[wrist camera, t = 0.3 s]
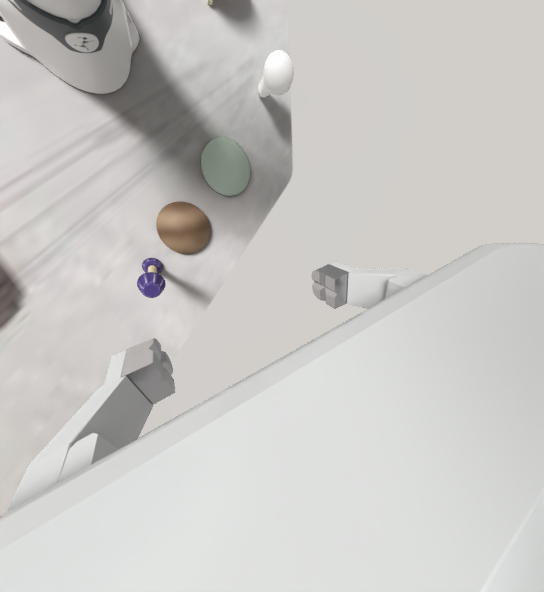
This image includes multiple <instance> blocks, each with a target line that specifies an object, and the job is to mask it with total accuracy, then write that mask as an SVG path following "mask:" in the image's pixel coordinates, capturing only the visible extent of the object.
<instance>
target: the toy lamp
mask: <svg viewBox="0 0 544 592" xmlns="http://www.w3.org/2000/svg"><path fill="white" fill-rule="evenodd" d="M142 268H143V270H144V271H145V272H146V273H144V274H142V275H141V276H140V277H139V279H138V281H137V286H138V288H139V290H140V291H141V292H142V294H143V295H145V296H146V297H149V298H154V297H157V296H159V295H160V294H161V292H162V291H163V290H164V288H165V280H164V278H163V277H162V276H161V275H159V273H160V272H161V271H162V263H161V262H160V261H159V260H157V259H155V258H149V259H146V260H145V261H144V262H143V264H142Z"/></svg>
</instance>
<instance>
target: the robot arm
mask: <svg viewBox="0 0 544 592" xmlns="http://www.w3.org/2000/svg"><path fill="white" fill-rule="evenodd" d="M0 17H2V18H3V20H4V21H5V22H2V21H0V36H1V37H2V38H3V39H4V40H5V41H6V42H8V43H9V44H11V45H12V46H14V47H16V48H18V49H19V50H21V51H23V52H25V53H27V54H29V55H31V56H33V57H34V58H36V59H37V60H38V61H39V62H41V63H42V64H43V65H44V66H45V67H46V68H48V69H49V70H50V71H51V72H52V73H54V74H55V75H56V76H58V77H59V78H60V79H62V80H63V81H65V82H67V83H68V84H70V85H72V86H74V87H76V88H78V89H81V90H84V91H87V92H91V93H96V94H106V93H111V92H114V91H116V90H118V89H119V88H121V87H122V86H123V85H124V83H125V82H126V80H127V78H128V76H129V72H130V65H131V56H132V53H133V51H134V50H135V49H136V47H137V45H138V43H139V34H138V30H137V28H136V26H135V24H134V22H133V20H132V18H131V16H130V14H129V12H128V10H127V9H126V7H125V5H124V3H123V1H122V0H0ZM312 279H313V280H314V284H313V292H314V294H315V296H316V297H317V298H318V299H320V300H324V301H326V304H327V305H329V306H331V307H332V308H334V309H336V308H338V307H340V306H342V305H344V304H346V303H347V304H350V305H354V306H358V307H363V308H367V310H366V311H364V312H362V313H360V314H358V315H357V316H355V317H353V318H351V319H349V320H348V321H346V322H344V323H342V324H340V325H339V326H337V327H335V328H333V329H332V330H330V331H328V332H326V333H325V334H323V335H321V336H319V337H317V338H316V339H314V340H312V341H310V342H308V343H307V344H305V345H303V346H301V347H300V348H298V349H296V350H294V351H293V352H291V353H289V354H287V355H286V356H284V357H282V358H280V359H278V360H277V361H275V362H273V363H271V364H269V365H268V366H266V367H264V368H262V369H261V370H259V371H257V372H256V373H254V374H252V375H250V376H248V377H246V378H245V379H243V380H241V381H239V382H238V383H236V384H234V385H232V386H230V387H229V388H227V389H225V390H223V391H221V392H220V393H218V394H216V395H214V396H213V397H211V398H209V399H207V400H205V401H204V402H202V403H200V404H198V405H197V406H195V407H193V408H191V409H190V410H188V411H186V412H184V413H183V414H181V415H179V416H177V417H175V418H174V419H172V420H170V421H168V422H167V423H165V424H163V425H161V426H159V427H158V428H156V429H154V430H152V431H150V432H149V433H147V434H145V435H143V436H142V437H140V438H138V437H139V434H140V432H141V430H142V428H143V426H144V424H145V422H146V420H147V418H148V416H149V414H150V412H151V409H152V407H153V404H155V403H157V402H159V401H161V400H162V399H164V398H166V397H168V396H170V395H171V394H173V393H175V386H174V379H173V378H172V376H171V374H172V373H173V368H172V364H171V361H170V359H169V357H168V355H167V354H166V352H163V351H161V345H160V343H159V342H158V341H157V339H155V338H153V339H151V340H148V341H146V342H143V343H141V344H138V345H136V346H133V347H131V348H128V349H126V350H123V351H121V352H119V353H116V354H114V355H113V356H112V357H111V361H110V365H109V369H108V372H107V376H106V380H105V384H104V386H102V387H100V388H99V389H98V390H97V391H96V392H95V393H94V394H93V395H92V396H91V397H90V398H89V400H88V401H87V402H86V403H85V404H84V405H83V406H82V407H81V408H80V409H79V411H78V412H77V413H76V414H75V415H74V416H73V417H72V418H71V419H70V420H69V421H68V423H67V424H66V425H65V426H64V427H63V428H62V429H61V430H60V431H59V432H58V434H57V435H56V436H55V437H54V438H53V439H52V440H51V441H50V442H49V443H48V444H47V446H46V447H45V448H44V449H43V450H42V451H41V452H40V453H39V454H38V455H37V457H36V458H35V459H34V460H33V461H32V462H31V463H30V464H29V466H28V468H27V470H26V472H25V474H24V476H23V479H22V481H21V483H20V485H19V487H18V489H17V491H16V494H15V496H14V498H13V500H12V502H11V504H10V507H9V509H8V511H7V512H6V513H5V514H3V515H1V516H0V592H544V244H536V243H495V244H485V245H482V246H479V247H477V248H475V249H474V250H472V251H470V252H468V253H466V254H465V255H463V256H461V257H459V258H458V259H456V260H454V261H452V262H451V263H449V264H447V265H445V266H443V267H442V268H440V269H438V270H436V271H435V272H433V273H431V274H429V275H425V274H422V273H418V272H415V271H412V270H409V269H378V268H377V269H376V268H359V269H356V268H354V267H351V266H348V265H345V264H343V263H340V262H332V263H330V264H328V265H326V266H324V267H322V268H319V269H317V270H315V271H313V272H312Z"/></svg>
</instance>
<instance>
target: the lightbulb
mask: <svg viewBox="0 0 544 592" xmlns="http://www.w3.org/2000/svg"><path fill="white" fill-rule="evenodd" d="M292 80H293V65H292V61H291V59H290V57H289V56H288V55H287V54H286V53H285V52H283V51H281V50H277V51H274V52H273V53H271V54H270V55H269V57H268V58H267V60H266V63H265V66H264V76H263V78H262V80H261V82H260V84H259V86H258V93H259V95H260V96H261V97H262V98H265V97H267V96H269V95H271V94H274V95H282V94H284V93H285V92H287V91H288V89H289V88H290V86H291V83H292Z"/></svg>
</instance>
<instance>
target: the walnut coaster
mask: <svg viewBox="0 0 544 592" xmlns="http://www.w3.org/2000/svg"><path fill="white" fill-rule="evenodd" d="M157 231H158V234H159V236H160V238H161V240H162V241H163V242H164V244H165V245H166V246H167V247H169V248H170V249H172V250H173V251H176V252H178V253H183V254H191V253H195V252H197V251H199V250H201V249H202V248H203V247H204V246H205V245H206V244H207V242H208V240H209V237H210V225H209V221H208V219H207V217H206V216H205V214H204V213H203V212H202V211H201V210H200V209H199V208H198V207H196V206H194V205H192V204H190V203H187V202H174V203H171V204H168V205H167V206H165V207H164V208H163V209H162V210H161V211H160V213H159V215H158V218H157Z"/></svg>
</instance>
